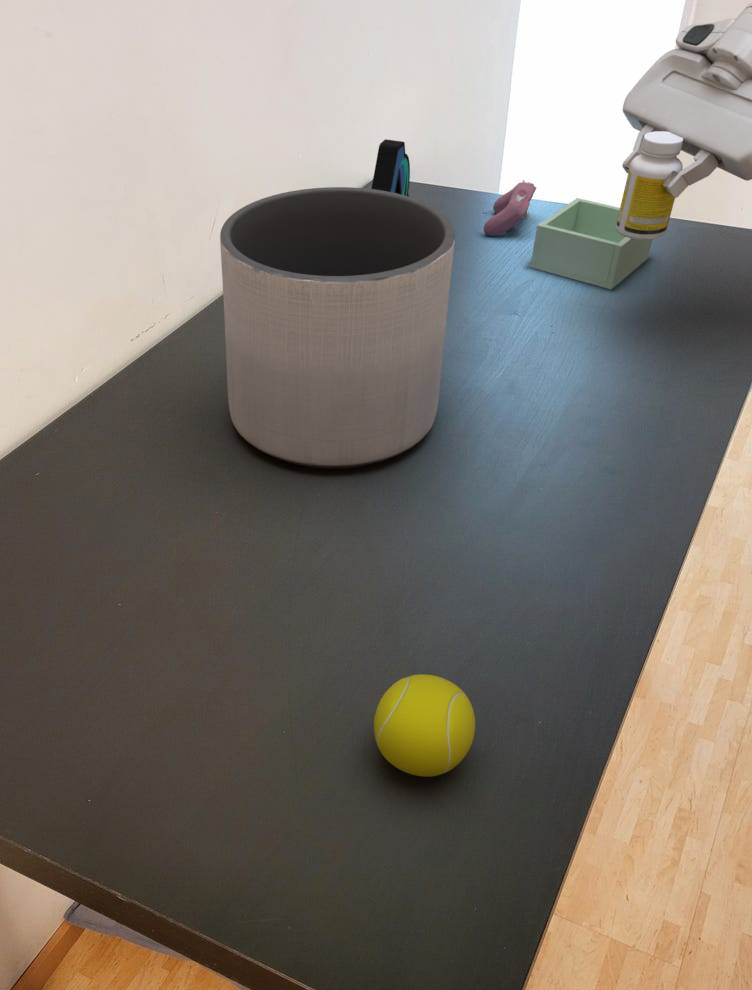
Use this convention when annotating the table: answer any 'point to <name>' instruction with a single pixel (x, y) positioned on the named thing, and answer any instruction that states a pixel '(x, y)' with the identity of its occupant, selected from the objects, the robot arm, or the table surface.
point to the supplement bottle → (649, 187)
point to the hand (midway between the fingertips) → (647, 181)
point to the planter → (335, 323)
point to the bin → (587, 245)
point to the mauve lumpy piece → (510, 209)
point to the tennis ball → (424, 725)
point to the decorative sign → (392, 168)
